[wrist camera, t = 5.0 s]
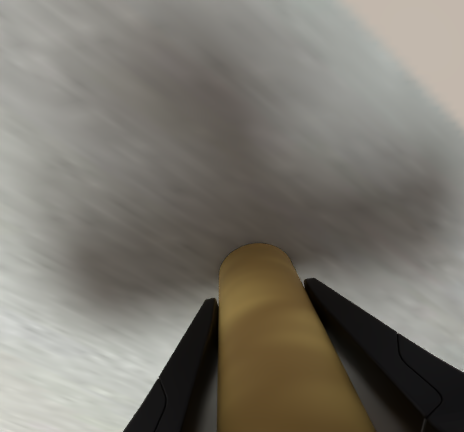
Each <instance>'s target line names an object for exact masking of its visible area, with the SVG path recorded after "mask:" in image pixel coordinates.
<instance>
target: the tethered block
mask: <svg viewBox="0 0 464 432" xmlns="http://www.w3.org/2000/svg"><path fill="white" fill-rule="evenodd" d="M217 432H376V430H375V428H374V426H373V424H372V422H371V420H370V418H369V416H368V414H367V412H366V410H365V408H364V406H363V404H362V402H361V400H360V398H359V396H358V394H357V392H356V390H355V388H354V386H353V384H352V382H351V380H350V378H349V376H348V374H347V372H346V370H345V368H344V366H343V364H342V362H341V360H340V358H339V356H338V354H337V352H336V350H335V348H334V346H333V344H332V342H331V340H330V338H329V336H328V334H327V332H326V330H325V328H324V326H323V324H322V322H321V320H320V318H319V316H318V314H317V312H316V310H315V308H314V306H313V304H312V302H311V300H310V298H309V296H308V294H307V292H306V290H305V288H304V286H303V284H302V282H301V280H300V278H299V276H298V274H297V272H296V270H295V268H294V266H293V264H292V262H291V260H290V258H289V257H288V256H287V254H286V253H285V252H283V251H282V250H281V249H279V248H277V247H275V246H273V245H269V244H264V243H254V244H248V245H245V246H242V247H240V248H238V249H236V250H234V251H233V252H231V253H230V254H229V255H228V256H227V257H226V258H225V260H224V261H223V263H222V265H221V267H220V271H219V311H218V382H217Z"/></svg>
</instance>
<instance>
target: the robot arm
mask: <svg viewBox="0 0 464 432" xmlns="http://www.w3.org/2000/svg"><path fill="white" fill-rule="evenodd" d="M304 287H305V290H306V292H307V294H308V296H309V298H310V300H311V302H312V304H313V306H314V308H315V310H316V312H317V314H318V316H319V318H320V320H321V322H322V324H323V326H324V328H325V330H326V332H327V334H328V336H329V338H330V340H331V342H332V344H333V346H334V348H335V350H336V352H337V354H338V356H339V358H340V360H341V362H342V364H343V366H344V368H345V370H346V372H347V374H348V376H349V378H350V380H351V382H352V384H353V386H354V388H355V390H356V392H357V394H358V396H359V398H360V400H361V402H362V404H363V406H364V408H365V410H366V412H367V414H368V416H369V418H370V420H371V422H372V424H373V426H374V428H375V430H376V432H464V373H463V372H462V371H460V370H458V369H456V368H455V367H453V366H451V365H449V364H448V363H446V362H444V361H443V360H441V359H439V358H437V357H436V356H434V355H432V354H431V353H429V352H427V351H426V350H424V349H423V348H421V347H419V346H418V345H416V344H415V343H413V342H412V341H410V340H408V339H407V338H405V337H404V336H402V335H401V334H399V333H398V334H397V332H396V331H395V330H393V329H392V328H390V327H389V326H387V325H386V324H384V323H382V322H381V321H379V320H378V319H376V318H375V317H373V316H372V315H370V314H369V313H367V312H366V311H364V310H363V309H361V308H360V307H358V306H357V305H355V304H354V303H352V302H351V301H349V300H348V299H346V298H344V297H343V296H341V295H340V294H338V293H337V292H335V291H334V290H332V289H331V288H329V287H328V286H326V285H325V284H323V283H322V282H320V281H319V280H317V279H316V278H309V279H305V280H304ZM218 311H219V307H218V304H217V300H216V299H215V298H210V299H206V300H205V301H204V303H203V305H202V306H201V308H200V310H199V311H198V313H197V315H196V316H195V318H194V319H193V321H192V323H191V324H190V326H189V328H188V329H187V331H186V333H185V334H184V336H183V338H182V339H181V341H180V343H179V344H178V346H177V348H176V349H175V351H174V353H173V354H172V356H171V358H170V359H169V361H168V362H167V364H166V366H165V367H164V369H163V371H162V372H161V374H160V376H159V379H157V381H156V382H155V384H154V385H153V387H152V389H151V390H150V392H149V394H148V395H147V397H146V398H145V400H144V401H143V403H142V405H141V406H140V408H139V409H138V411H137V412H136V413H135V415H134V416H133V418H132V419H131V421H130V422H129V424H128V425H127V427H126V428H125V429H124V431H123V432H217V382H218Z"/></svg>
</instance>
